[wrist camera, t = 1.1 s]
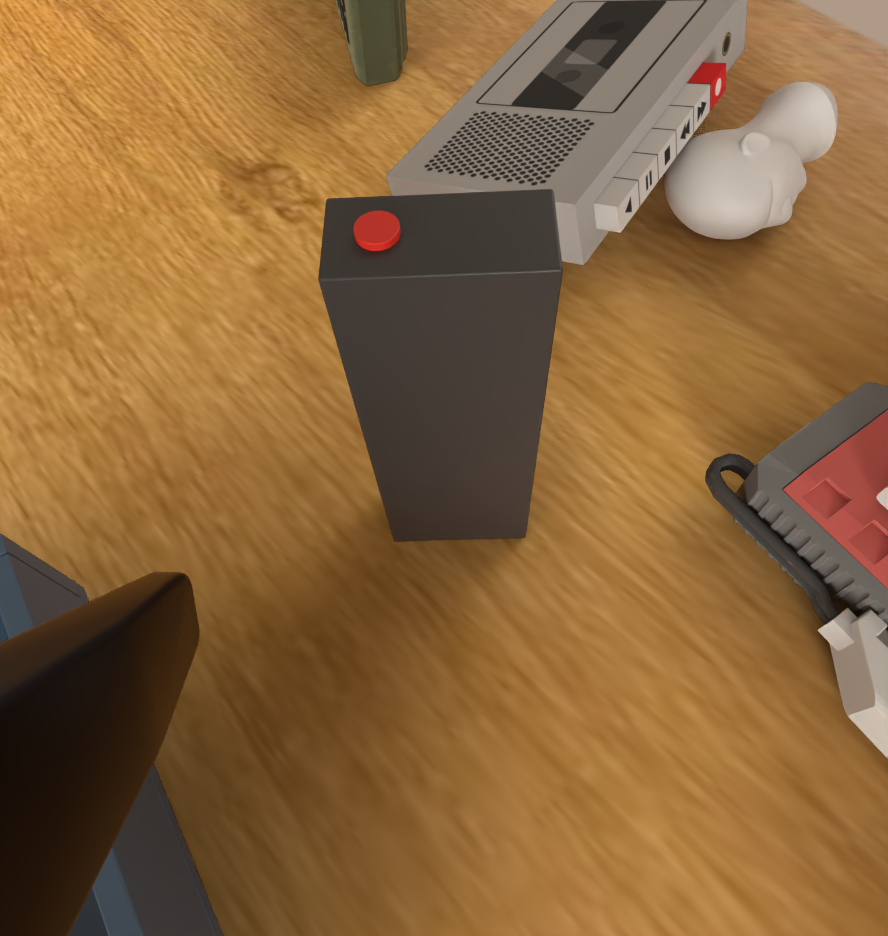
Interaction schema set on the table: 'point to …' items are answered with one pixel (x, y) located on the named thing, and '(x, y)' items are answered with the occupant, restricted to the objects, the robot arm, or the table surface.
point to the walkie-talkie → (830, 536)
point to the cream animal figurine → (752, 164)
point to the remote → (446, 349)
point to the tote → (151, 817)
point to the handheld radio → (375, 37)
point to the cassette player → (584, 111)
